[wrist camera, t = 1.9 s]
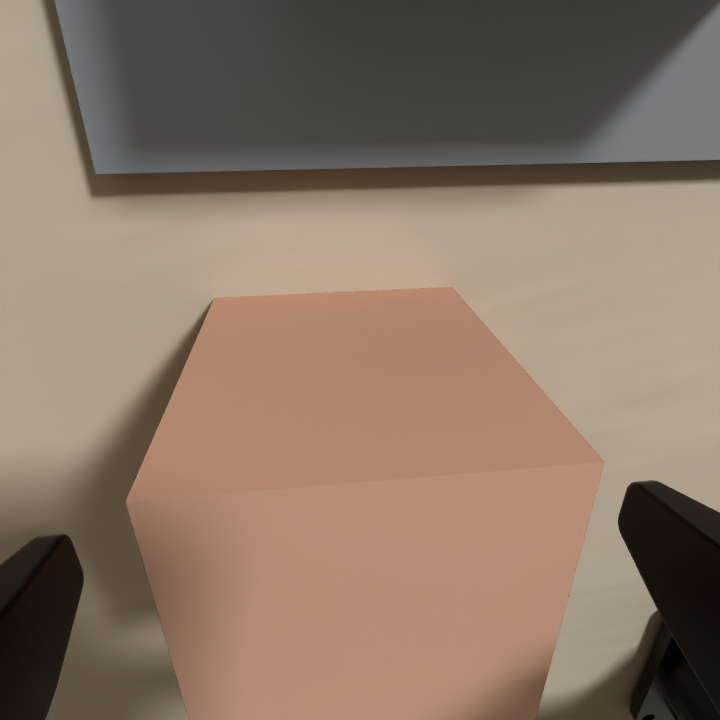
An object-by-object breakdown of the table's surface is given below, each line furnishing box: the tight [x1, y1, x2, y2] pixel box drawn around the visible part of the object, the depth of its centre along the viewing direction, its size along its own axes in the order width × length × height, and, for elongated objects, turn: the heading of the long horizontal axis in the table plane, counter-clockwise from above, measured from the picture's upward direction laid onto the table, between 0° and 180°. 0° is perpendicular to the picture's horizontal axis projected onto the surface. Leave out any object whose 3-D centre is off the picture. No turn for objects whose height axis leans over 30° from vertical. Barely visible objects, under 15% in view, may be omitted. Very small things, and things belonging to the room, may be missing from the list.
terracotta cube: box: [126, 287, 605, 720], centre depth 9 cm, size 5×5×6 cm
